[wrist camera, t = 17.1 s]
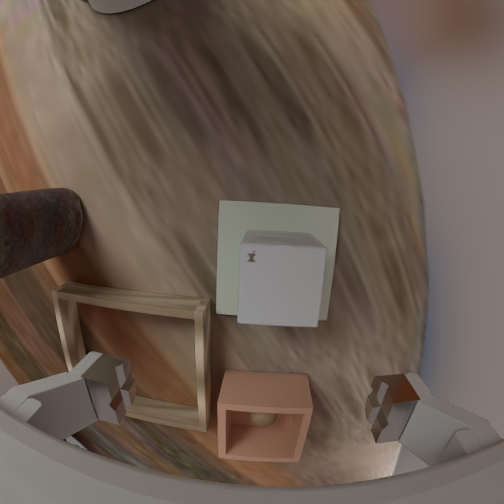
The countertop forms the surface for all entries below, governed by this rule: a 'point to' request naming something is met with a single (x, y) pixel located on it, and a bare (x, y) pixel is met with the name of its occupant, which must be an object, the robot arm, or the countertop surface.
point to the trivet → (271, 219)
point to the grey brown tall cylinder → (37, 227)
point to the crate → (149, 304)
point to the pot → (263, 401)
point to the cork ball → (262, 418)
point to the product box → (280, 278)
